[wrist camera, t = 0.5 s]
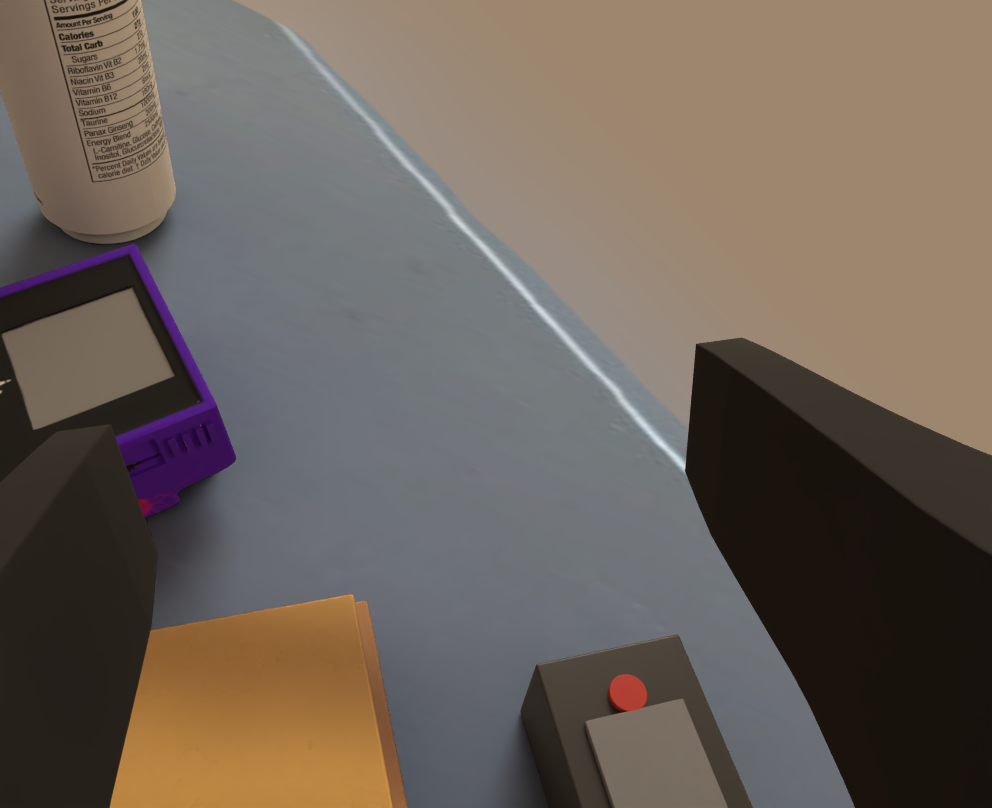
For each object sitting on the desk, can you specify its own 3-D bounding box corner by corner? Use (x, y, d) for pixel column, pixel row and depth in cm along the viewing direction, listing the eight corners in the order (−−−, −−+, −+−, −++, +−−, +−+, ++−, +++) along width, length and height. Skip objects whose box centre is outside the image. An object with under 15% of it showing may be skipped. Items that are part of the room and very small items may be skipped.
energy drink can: (111, 160, 44) (28, -183, 33) (206, 204, 43) (151, -139, 32) (13, 218, 41) (-118, -147, 29) (113, 269, 39) (14, -94, 28)
